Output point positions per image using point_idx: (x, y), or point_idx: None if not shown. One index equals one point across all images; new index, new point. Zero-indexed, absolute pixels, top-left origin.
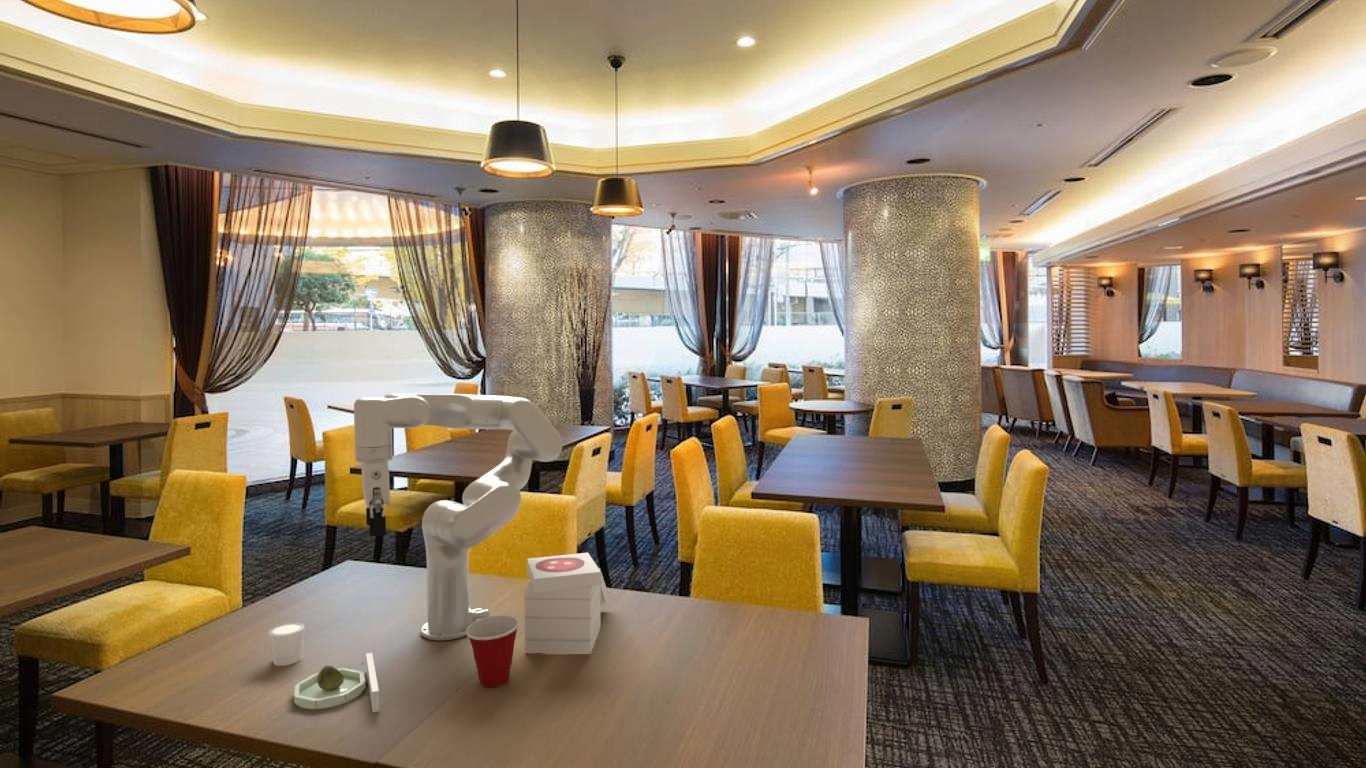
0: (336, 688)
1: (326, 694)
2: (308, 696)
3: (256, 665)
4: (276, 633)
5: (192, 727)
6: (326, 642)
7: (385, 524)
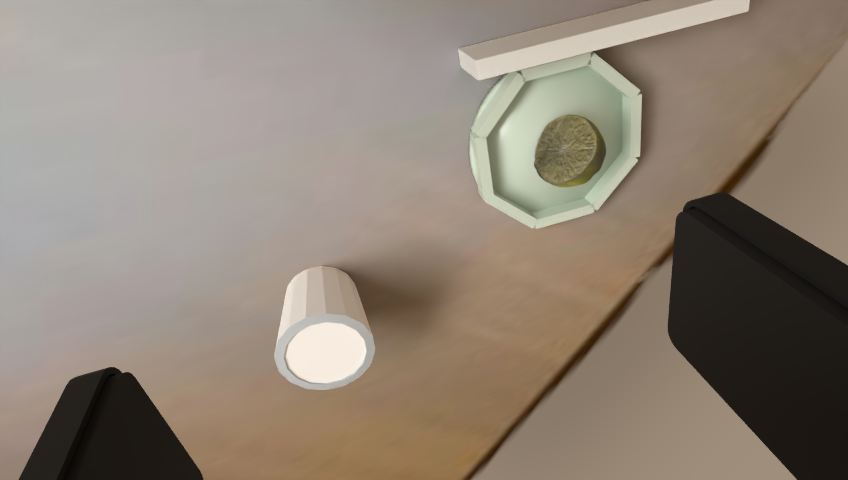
0: None
1: None
2: None
3: None
4: (351, 367)
5: (588, 346)
6: (209, 236)
7: (829, 259)
